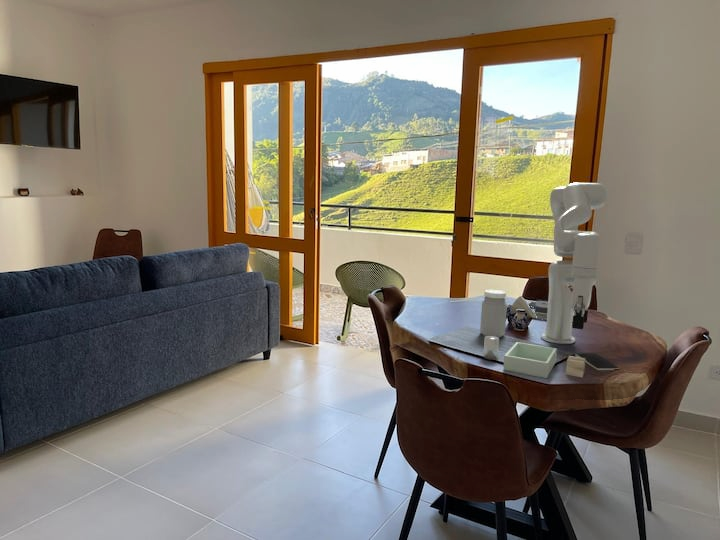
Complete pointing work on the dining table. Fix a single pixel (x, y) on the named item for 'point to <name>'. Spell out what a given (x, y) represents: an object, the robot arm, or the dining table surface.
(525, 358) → the tote
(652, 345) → the dining table surface
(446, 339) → the dining table surface
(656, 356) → the dining table surface
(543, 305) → the streaming box
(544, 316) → the speaker stand
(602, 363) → the smartphone
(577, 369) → the maple cube
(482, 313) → the jar
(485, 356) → the aluminium cylinder
